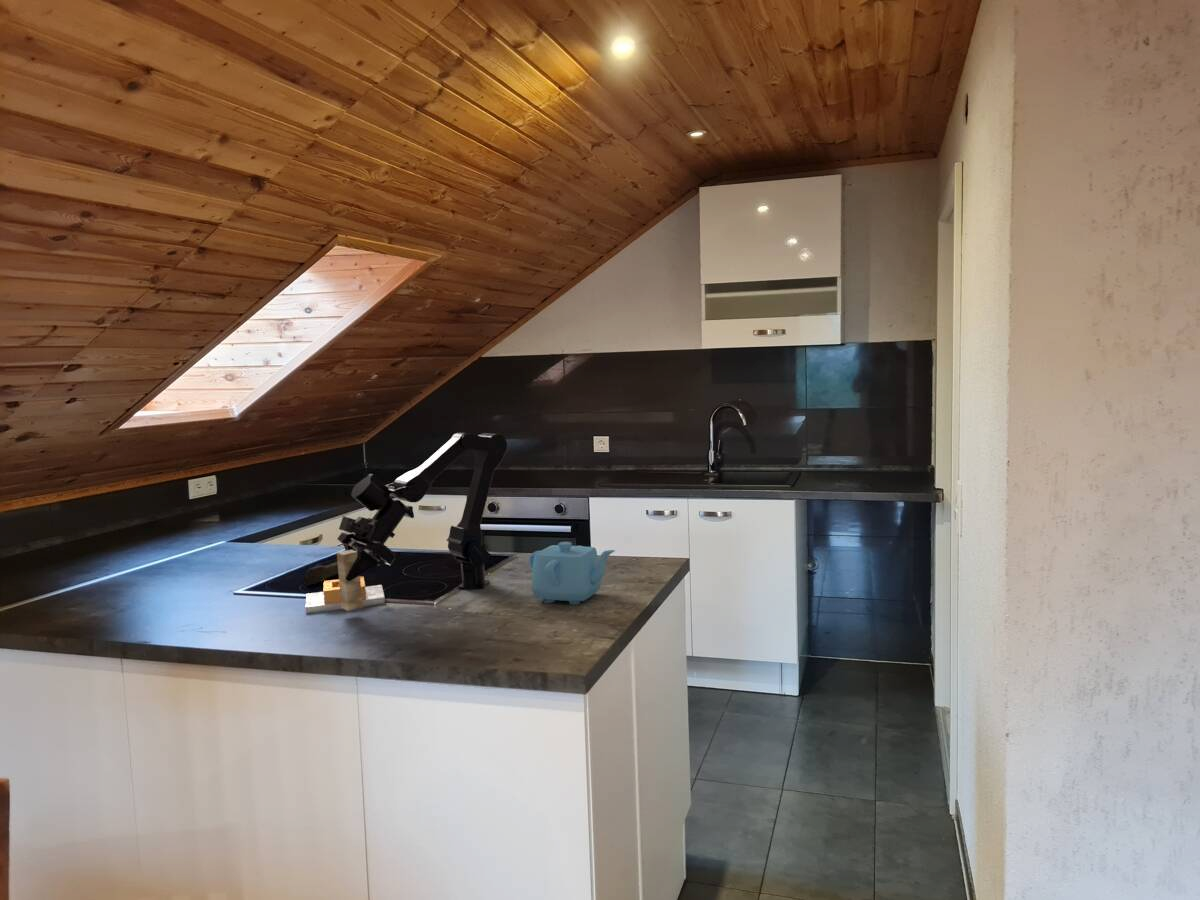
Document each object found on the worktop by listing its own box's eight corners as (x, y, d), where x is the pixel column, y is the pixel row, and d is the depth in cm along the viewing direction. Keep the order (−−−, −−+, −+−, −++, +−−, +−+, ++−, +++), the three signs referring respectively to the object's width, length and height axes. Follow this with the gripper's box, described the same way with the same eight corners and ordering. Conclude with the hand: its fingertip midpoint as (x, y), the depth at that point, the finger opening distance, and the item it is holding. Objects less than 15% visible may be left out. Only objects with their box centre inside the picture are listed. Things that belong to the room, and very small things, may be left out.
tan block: (355, 604, 202) (351, 549, 200) (362, 607, 199) (357, 551, 198) (341, 607, 200) (336, 552, 198) (348, 610, 197) (343, 554, 195)
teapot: (541, 612, 196) (538, 554, 195) (525, 593, 212) (522, 539, 210) (618, 602, 202) (615, 545, 200) (596, 584, 217) (594, 531, 216)
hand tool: (349, 568, 245) (348, 552, 245) (360, 569, 243) (359, 553, 243) (299, 586, 228) (297, 569, 228) (310, 588, 227) (308, 570, 226)
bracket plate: (382, 590, 220) (380, 573, 219) (385, 603, 209) (383, 585, 208) (307, 599, 215) (305, 581, 214) (306, 613, 203) (304, 594, 203)
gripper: (342, 498, 206) (300, 552, 200) (378, 507, 192) (334, 566, 186) (375, 524, 212) (336, 578, 206) (413, 535, 198) (372, 593, 192)
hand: (343, 578), depth 198 cm, fingers closed on tan block, 3 cm apart
